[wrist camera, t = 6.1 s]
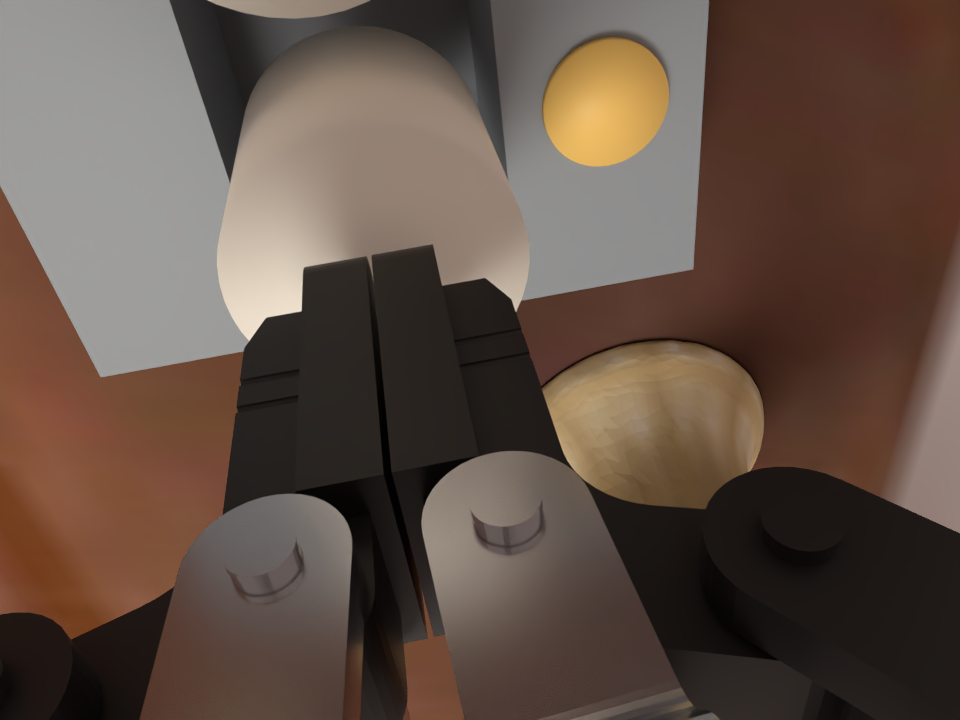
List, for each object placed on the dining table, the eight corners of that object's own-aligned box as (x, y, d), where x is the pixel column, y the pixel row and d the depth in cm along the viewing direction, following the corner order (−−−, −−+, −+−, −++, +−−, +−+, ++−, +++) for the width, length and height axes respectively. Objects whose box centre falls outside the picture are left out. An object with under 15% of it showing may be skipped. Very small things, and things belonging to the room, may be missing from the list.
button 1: (208, 48, 12) (169, 154, 9) (467, 6, 13) (516, 97, 9) (278, 271, 15) (266, 415, 12) (493, 233, 15) (539, 364, 12)
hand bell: (555, 316, 22) (870, 1097, 9) (810, 362, 24) (1328, 1028, 12) (467, 524, 26) (598, 1238, 14) (689, 545, 29) (970, 1167, 16)
